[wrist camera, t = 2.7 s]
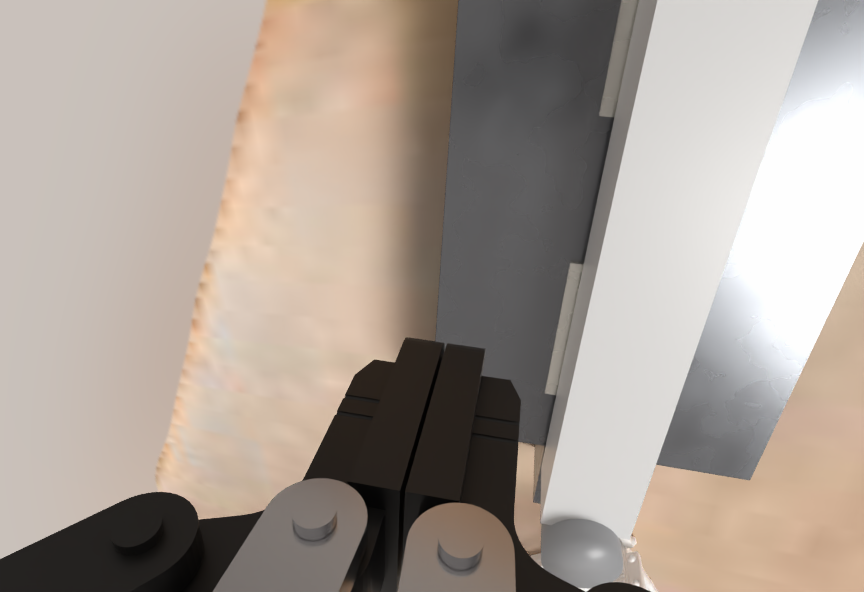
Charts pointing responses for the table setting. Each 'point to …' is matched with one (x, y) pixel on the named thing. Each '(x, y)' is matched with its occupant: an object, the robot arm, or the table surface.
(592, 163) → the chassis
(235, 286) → the table surface
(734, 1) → the bar
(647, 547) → the table surface
